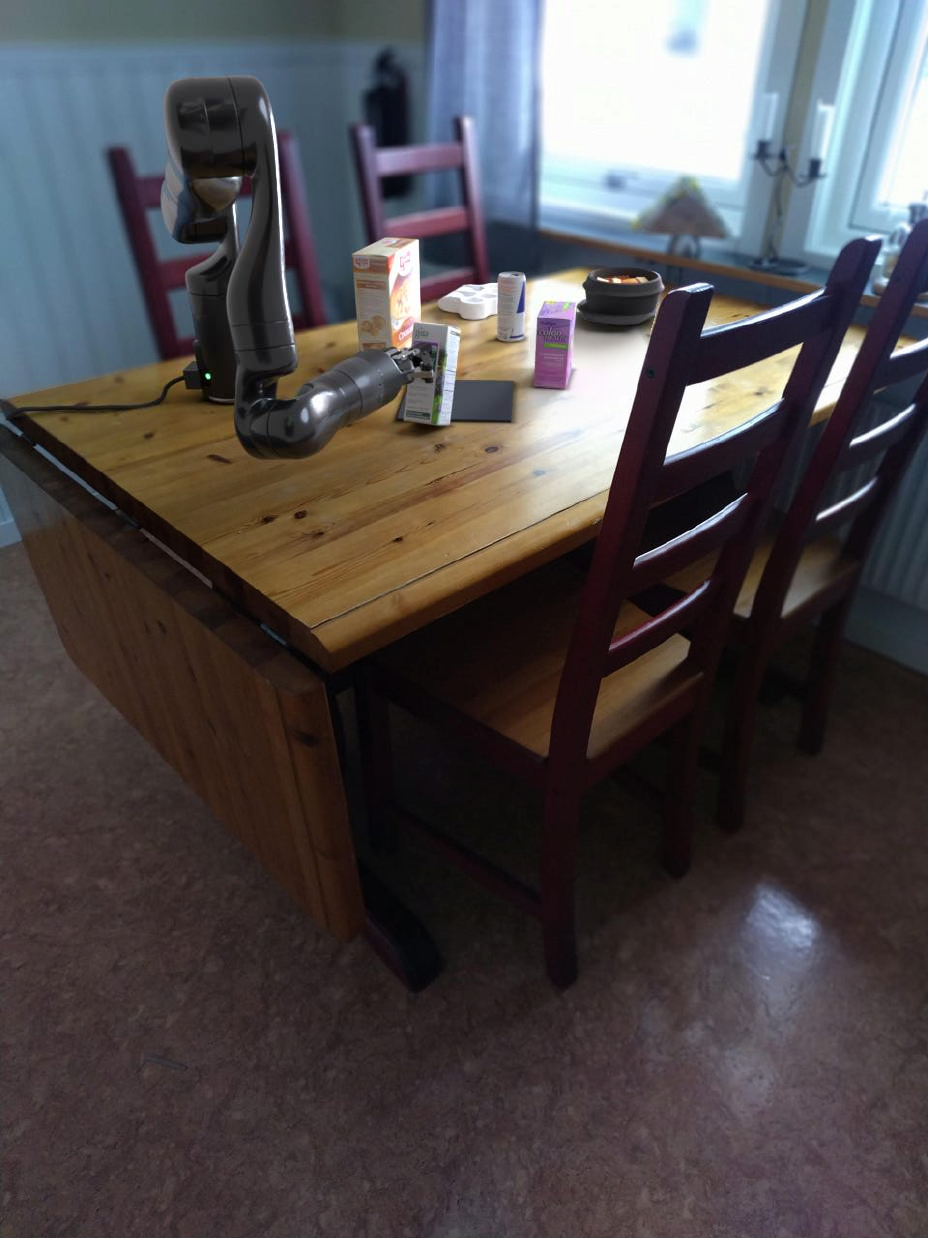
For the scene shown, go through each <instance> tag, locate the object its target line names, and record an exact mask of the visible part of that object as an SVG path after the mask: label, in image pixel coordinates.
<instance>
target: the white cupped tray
mask: <svg viewBox="0 0 928 1238" xmlns="http://www.w3.org/2000/svg"><path fill="white" fill-rule="evenodd" d="M497 295H498V282H491V283H485V284H463V285H462V286H460V287H458V288H457V289H455V290H453V291H451V292H449V293H448V294H447V295H444V296H442V297H441V298H439V299H437V307H438V308H439V309H440V310H442V311H445V312H448V313H453V314H459V315H460V317H461V318H463V319H464V320H465V319H466V320H471V321H473V320H475V321H476V320H485V319H486V318H487V317H489V316H495V315H496V316H497Z"/></svg>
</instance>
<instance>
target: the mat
mask: <svg viewBox="0 0 928 1238" xmlns="http://www.w3.org/2000/svg"><path fill="white" fill-rule="evenodd" d="M406 395H407V390H406V391H405V394H404V397H403V400H402V403H401V406H400V408H399V412H398V414H397V418H396V421H398V422H399V421H400V422H401V421H402V422H405V421H404V411H405V404H406ZM513 398H514V380H507V379H505V380H502V379H501V380H497V379H496V380H494V379H493V380H491V379H455V384H454V393H453V401H452V410H451V418H450V422H462V423H463V422H465V423H466V422H469V423H470V422H472V423H475V422H476V423H480V422H481V423H512V419H513Z"/></svg>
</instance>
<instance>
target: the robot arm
mask: <svg viewBox="0 0 928 1238" xmlns="http://www.w3.org/2000/svg"><path fill="white" fill-rule="evenodd" d="M162 103H163V104H162V118H163V119H162V120H163V129H164V135H165V136H164V137H165V143H166V148H167V149H166V154H165V155H166V156H165V162H164V179H163V182H162V185H161V190H160V209H161V216H162V219H163V222H164V225H165V227H166V230H167V232H168V233H169V235H170V236H171V238H172V239H173V240H175V241H176V242H177V243H180V244H181V245H182V244H183V245H196V244H197V245H201V244H214V243H218V247H217V248H216V250H215V252H214V253H213V254H211V255H210V256H209V257H208V258H206V259H205V260H203V261H202V262H199V263H198V264H196V265H194V266H191V267H190V268H189V269H188V270H187V271H186V272H185V274H184V280H185V285H186V291H187V295H188V302H189V306H190V312H191V317H192V322H193V327H194V334H195V338H196V339H195V340H194V341H193V342H192V348H193V353H194V357H195V360H194V361H193V360H192V361H191V362H190V363H189V364H188V365H187V366H185V368H183V370H182V375H181V376H178V377H175V378H173V379H172V380H170V381H168V382H167V383H166V384H165V385H164V386H163V388H162V392H161V394H160V396H159V397H157V398H156V399H154V400H152V401H150V402H149V401H148V402H146V403H141V404H105V405H103V404H102V405H51V406H50V405H47V406H22V407H18V408H15V409H13V410H12V411H11V412H10V413H8V415H7V416H6V418H5V421H11V420H13V419H14V418H15V417H16V416H18V415H19V414H22V413H25V412H54V411H55V412H56V411H78V412H79V411H80V412H81V411H84V412H87V411H89V412H90V411H91V412H92V411H94V412H97V411H111V410H112V411H113V410H114V411H115V410H119V411H120V410H121V411H123V410H124V411H125V410H134V409H140V408H146V407H153V406H156V405H158V404H161V403H162V402H164V401H165V399H166V398H167V395H168V392H169V389H170V388H172V386H174V385H176V384H178V383H180V382H183V381H184V386H185V389H186V390H195V391H196V390H201V394H202V400H203V401H211V402H214V403H217V404H233V405H234V406H233V426H234V430H235V431H234V432H235V435H236V437H237V440H238V442H239V444H240V446H241V447H242V449H243V450H244V452H246V453H247V455H249V456H250V457H252V458H253V459H256V460H263V461H265V460H267V461H272V460H274V461H278V460H279V461H282V460H283V461H286V460H287V461H288V460H289V461H298V460H305V459H308V458H311V457H313V456H316V455H317V454H319V453H320V452H322V451H323V450H324V449H325V448H326V446H327V445H328V444H329V443H330V441H332V439H333V438H334V437H335V435H336V434H337V433H338V431H340V430H342V429H344V428H346V427H348V426H349V425H350V424H352V423H354V422H356V421H359V420H362V419H364V418H366V417H369V416H370V415H371V414H373V413H374V412H376V411H378V410H380V409H381V408H383V407H385V406H386V405H388V404H390V403H392V402H393V401H394V400H395V399H396V398H397V397H398V395H399V393H400V392H401V390H402V388H403V387H404V386H407V385H408V384H410V383H412V382H413V381H414V380H415V378H421V380H424V381H425V383H433V382H434V379H433V363H432V361H431V358H432V347H431V344H430V343H424V342H420V343H418V344H417V345H415V346H413V347H411V348H407V347H404V348H402V349H399V350H397V347H389V348H382V349H367V350H364V351H360V352H359V351H357V352H356V354H355V355H352V356H350V357H349V358H346V359H344V360H342V361H340V362H338V363H336V364H335V365H333V366H331V368H329V369H328V370H326V371H325V372H322V373H321V374H318V375H317V376H315V377H313V378H311V379H309V380H308V381H306V382H304V383H303V384H302V385H301V386H300V387H299V388H298V390H297V391H296V392H295V395H294V397H290V398H278V389H279V388H278V387H279V382H280V379H282V378H284V377H287V376H289V375H291V374H293V373H294V372H296V370H297V369H298V367H299V354H298V346H297V344H296V337H295V330H294V323H293V318H292V312H291V305H290V299H289V291H288V283H287V272H286V255H285V254H286V252H285V235H284V234H285V232H284V216H283V215H284V213H283V201H282V186H281V173H280V160H279V148H278V147H279V146H278V136H277V129H276V123H275V117H274V112H273V108H272V104H271V101H270V97H269V95H268V92H267V89H266V88H265V86H264V84H263V83H262V81H261V80H259V78H257V77H255V76H253V75H215V76H213V75H210V76H189V77H188V76H187V77H181V78H178V79H175V80H173V81H172V82H170V83H169V85H168V86H167V88H166V90H165V92H164V96H163V101H162ZM245 177H247V178H249V179H250V184H251V210H250V216H249V222H248V226H247V230H246V233H245V236H244V240H243V242H241V241H242V240H241V233H240V232H241V231H240V221H239V212H238V211H239V210H238V203H237V199H238V197H239V194H240V191H241V188H242V183H243V178H245Z"/></svg>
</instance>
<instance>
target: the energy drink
mask: <svg viewBox="0 0 928 1238" xmlns="http://www.w3.org/2000/svg"><path fill="white" fill-rule="evenodd" d="M497 277H498V278H497V283H498V295H497V314H496V337H497V339H498V340H499V341H501V342H505V343H516V342H521V341H522V340H523V339H524V338H525V318H526V317H525V316H526V315H525V314H526V280H527V278H526V275H525V273H524V272H518V271H504V272H500V273H499V274H498V276H497Z"/></svg>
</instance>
